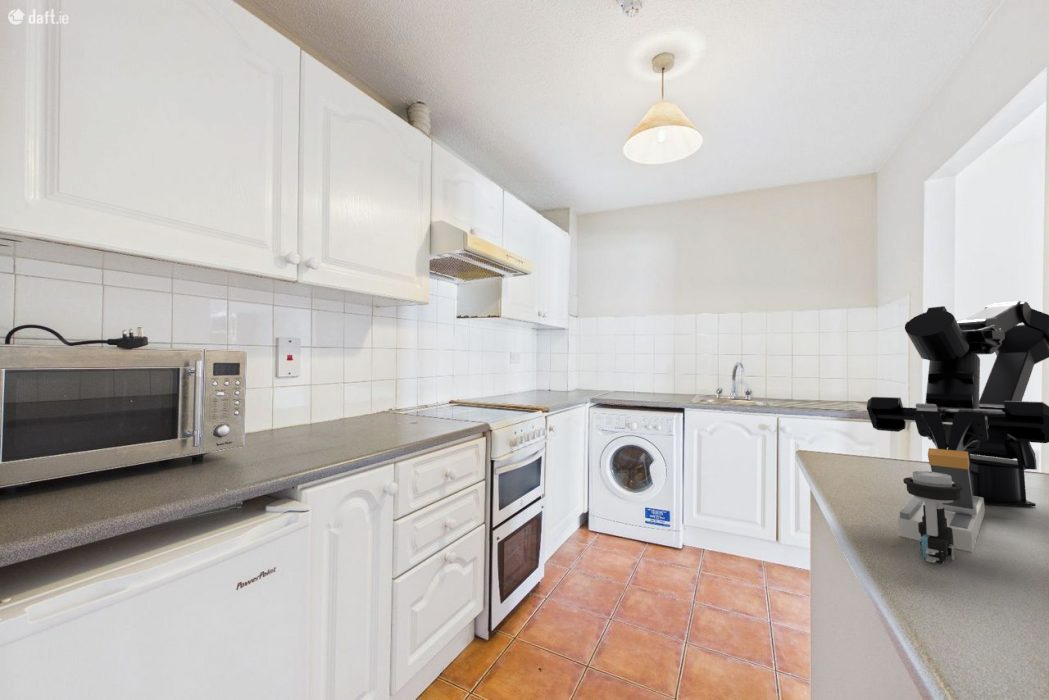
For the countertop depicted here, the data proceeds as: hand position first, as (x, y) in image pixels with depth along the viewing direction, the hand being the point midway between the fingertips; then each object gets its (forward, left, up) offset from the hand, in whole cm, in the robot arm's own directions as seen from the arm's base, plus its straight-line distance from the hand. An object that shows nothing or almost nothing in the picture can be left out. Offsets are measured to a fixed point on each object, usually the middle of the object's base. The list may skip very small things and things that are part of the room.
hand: (947, 464), depth 59 cm
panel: (-2, -5, -10) cm, 11 cm away
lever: (-2, -2, -6) cm, 7 cm away
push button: (+7, +8, -10) cm, 14 cm away
